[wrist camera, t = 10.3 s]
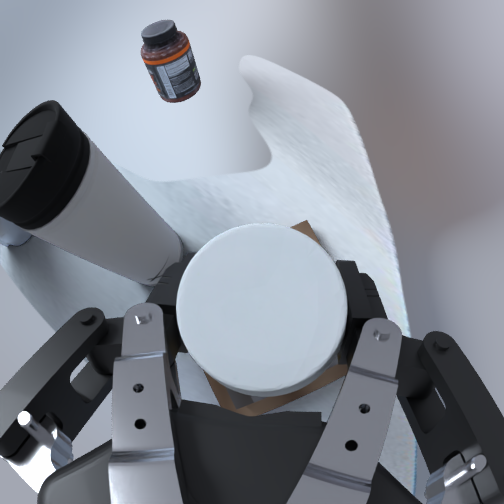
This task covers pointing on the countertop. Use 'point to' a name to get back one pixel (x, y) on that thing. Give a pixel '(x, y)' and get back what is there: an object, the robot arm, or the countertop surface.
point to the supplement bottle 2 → (262, 309)
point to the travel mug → (81, 199)
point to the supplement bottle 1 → (170, 61)
